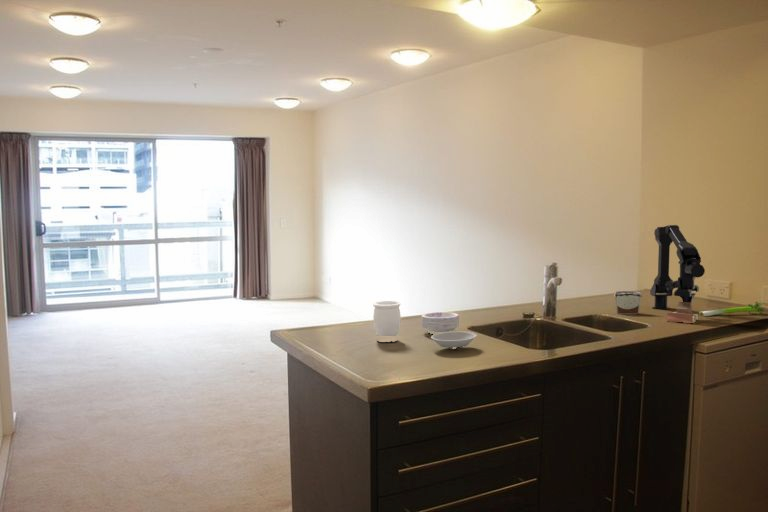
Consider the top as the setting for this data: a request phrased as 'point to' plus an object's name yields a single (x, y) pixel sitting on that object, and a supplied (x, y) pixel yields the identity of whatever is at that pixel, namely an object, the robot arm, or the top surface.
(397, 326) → the jar
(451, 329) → the paper bowls
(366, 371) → the top surface
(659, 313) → the top surface
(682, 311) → the block
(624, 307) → the food container
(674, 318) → the channel
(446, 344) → the dish
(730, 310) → the leek
